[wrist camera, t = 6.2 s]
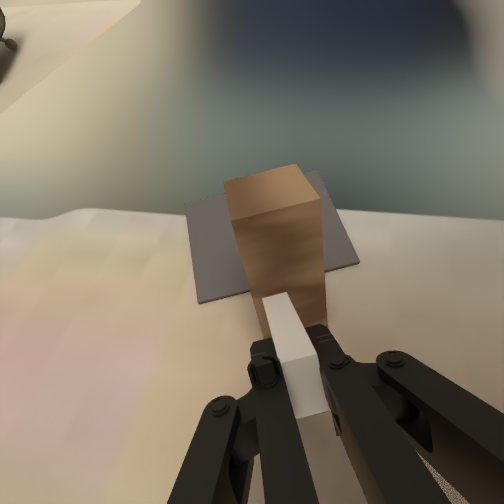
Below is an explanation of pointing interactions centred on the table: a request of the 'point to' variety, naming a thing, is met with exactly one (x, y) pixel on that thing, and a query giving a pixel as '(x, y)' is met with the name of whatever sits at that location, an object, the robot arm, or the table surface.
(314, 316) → the walnut block
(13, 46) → the tabletop clock
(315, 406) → the robot arm
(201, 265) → the rubber mat
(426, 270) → the table surface
